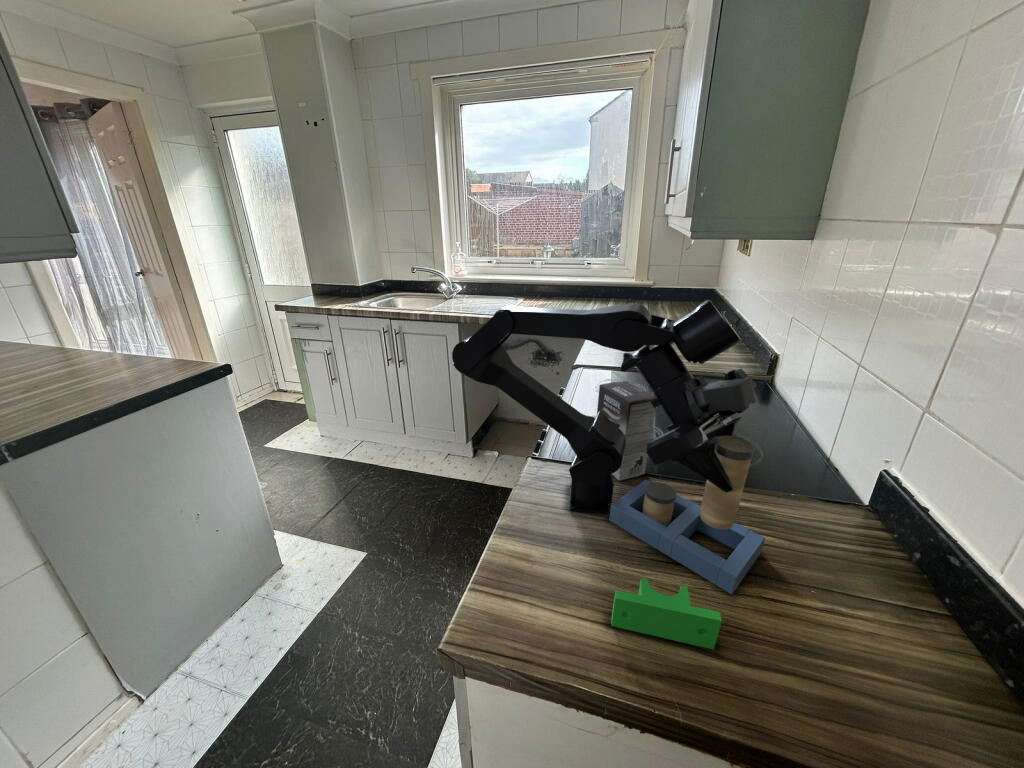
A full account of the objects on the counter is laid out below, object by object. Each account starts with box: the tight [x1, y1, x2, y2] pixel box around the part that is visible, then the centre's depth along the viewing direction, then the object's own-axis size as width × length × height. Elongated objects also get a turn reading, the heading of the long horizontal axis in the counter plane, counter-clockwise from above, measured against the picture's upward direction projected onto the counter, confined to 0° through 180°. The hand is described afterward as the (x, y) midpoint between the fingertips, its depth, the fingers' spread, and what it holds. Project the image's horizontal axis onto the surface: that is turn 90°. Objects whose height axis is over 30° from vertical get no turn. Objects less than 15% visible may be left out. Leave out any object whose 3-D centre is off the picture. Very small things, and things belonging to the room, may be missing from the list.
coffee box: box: [596, 380, 657, 482], centre depth 76 cm, size 9×6×16 cm
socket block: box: [608, 479, 766, 595], centre depth 61 cm, size 19×10×3 cm, turn 42°
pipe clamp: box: [610, 577, 723, 650], centre depth 47 cm, size 11×4×5 cm, turn 76°
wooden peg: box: [699, 435, 755, 530], centre depth 54 cm, size 4×4×12 cm
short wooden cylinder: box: [641, 481, 677, 527], centre depth 63 cm, size 4×4×6 cm
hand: (736, 483), depth 53 cm, fingers closed on wooden peg, 4 cm apart
